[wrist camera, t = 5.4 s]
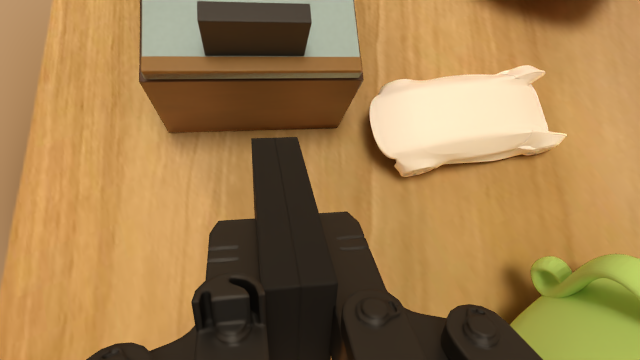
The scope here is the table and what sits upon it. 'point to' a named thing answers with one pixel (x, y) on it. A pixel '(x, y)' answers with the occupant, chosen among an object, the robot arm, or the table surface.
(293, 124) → the case
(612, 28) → the table surface
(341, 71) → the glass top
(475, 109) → the toy car
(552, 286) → the teapot
